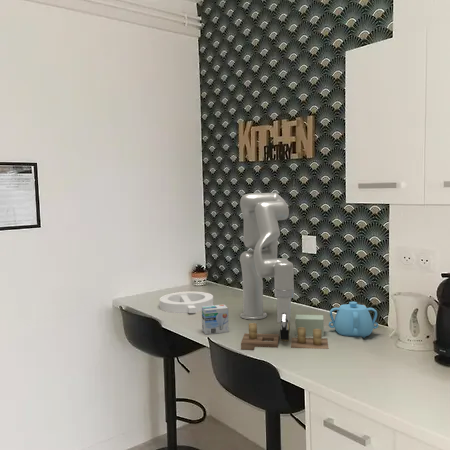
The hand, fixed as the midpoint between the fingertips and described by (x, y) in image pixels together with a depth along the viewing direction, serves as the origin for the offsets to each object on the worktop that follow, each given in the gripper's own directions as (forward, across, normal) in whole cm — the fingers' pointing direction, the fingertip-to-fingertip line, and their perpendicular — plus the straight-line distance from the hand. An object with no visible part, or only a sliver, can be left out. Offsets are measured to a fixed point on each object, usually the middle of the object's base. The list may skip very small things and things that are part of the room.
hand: (285, 335), depth 194 cm
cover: (+3, -9, +10) cm, 14 cm away
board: (+3, +3, +10) cm, 10 cm away
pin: (+3, 0, 0) cm, 3 cm away
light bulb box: (+3, -13, -30) cm, 33 cm away
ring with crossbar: (+3, -55, -54) cm, 77 cm away
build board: (+3, +3, -10) cm, 10 cm away
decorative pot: (+3, -13, +28) cm, 31 cm away
